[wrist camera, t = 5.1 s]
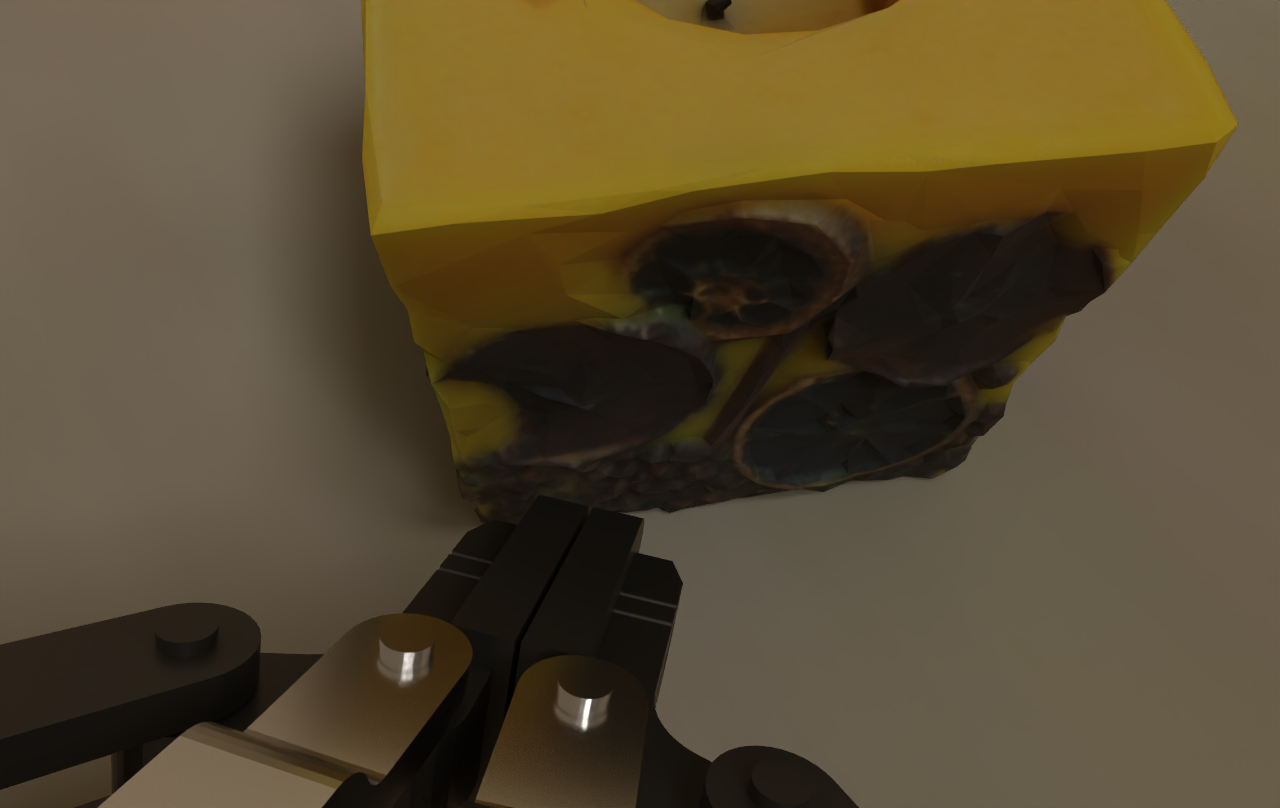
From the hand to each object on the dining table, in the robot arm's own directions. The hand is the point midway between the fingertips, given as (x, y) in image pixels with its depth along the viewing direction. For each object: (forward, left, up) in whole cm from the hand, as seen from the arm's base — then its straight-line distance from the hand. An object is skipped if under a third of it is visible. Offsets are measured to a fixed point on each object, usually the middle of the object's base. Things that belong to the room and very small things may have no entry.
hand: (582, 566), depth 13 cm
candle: (0, -8, -5) cm, 9 cm away
